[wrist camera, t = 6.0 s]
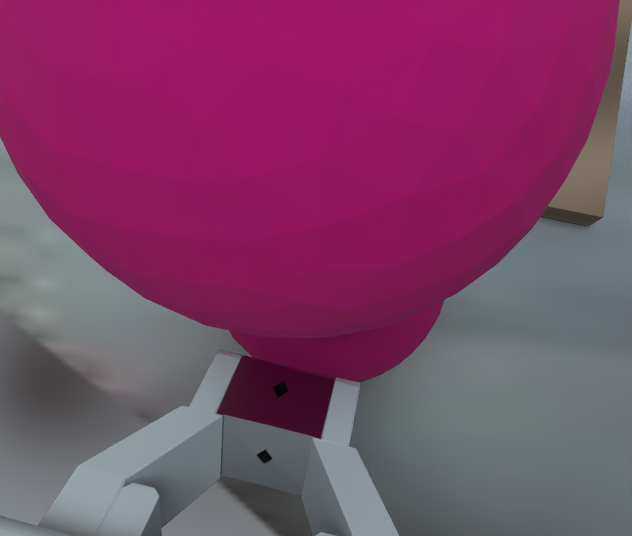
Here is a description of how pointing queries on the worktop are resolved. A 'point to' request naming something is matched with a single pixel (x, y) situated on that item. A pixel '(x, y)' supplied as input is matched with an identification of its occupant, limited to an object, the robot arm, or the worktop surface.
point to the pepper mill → (301, 152)
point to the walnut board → (596, 144)
